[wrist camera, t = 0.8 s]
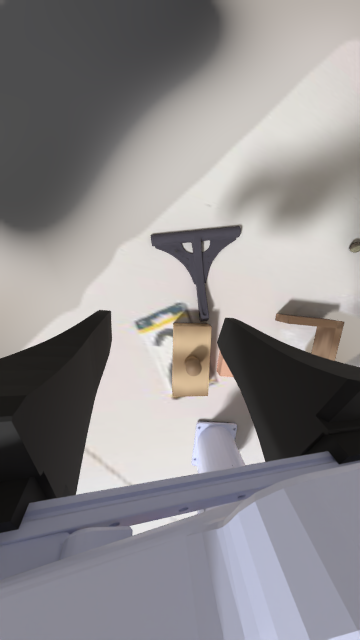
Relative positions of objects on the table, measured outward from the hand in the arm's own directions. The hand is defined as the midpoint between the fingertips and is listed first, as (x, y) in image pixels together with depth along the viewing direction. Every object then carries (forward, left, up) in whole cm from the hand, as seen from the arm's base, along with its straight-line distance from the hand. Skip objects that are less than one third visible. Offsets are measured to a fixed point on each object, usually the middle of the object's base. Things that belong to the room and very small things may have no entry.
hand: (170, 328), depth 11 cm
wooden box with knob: (-8, -5, -19) cm, 21 cm away
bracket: (+6, -5, -20) cm, 21 cm away
